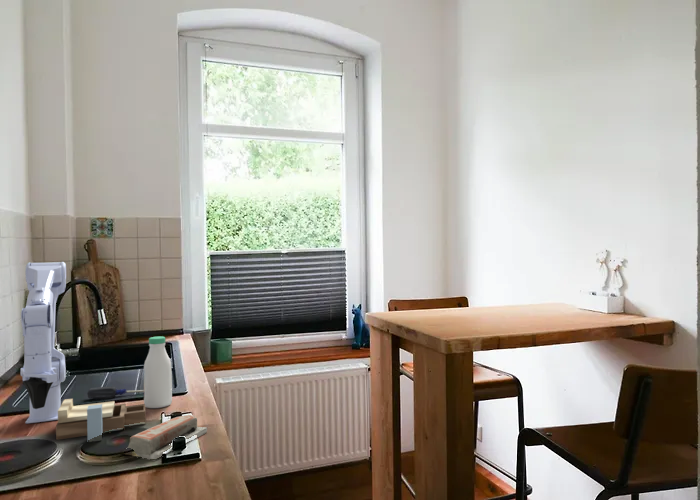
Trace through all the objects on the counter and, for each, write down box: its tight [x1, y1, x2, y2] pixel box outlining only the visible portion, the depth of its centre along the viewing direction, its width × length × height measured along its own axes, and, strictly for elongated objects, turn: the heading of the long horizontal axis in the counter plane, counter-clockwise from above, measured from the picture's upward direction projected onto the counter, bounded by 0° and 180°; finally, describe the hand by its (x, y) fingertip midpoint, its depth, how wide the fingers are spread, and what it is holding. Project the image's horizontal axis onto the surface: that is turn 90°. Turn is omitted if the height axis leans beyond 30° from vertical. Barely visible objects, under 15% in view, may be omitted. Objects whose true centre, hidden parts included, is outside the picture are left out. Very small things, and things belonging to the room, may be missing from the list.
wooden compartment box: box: [55, 403, 146, 441], centre depth 130 cm, size 12×20×3 cm, turn 112°
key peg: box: [87, 404, 104, 441], centre depth 120 cm, size 3×3×8 cm
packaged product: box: [127, 414, 208, 460], centre depth 118 cm, size 18×5×10 cm
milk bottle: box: [143, 335, 173, 409], centre depth 147 cm, size 8×8×20 cm
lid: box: [57, 398, 116, 423], centre depth 128 cm, size 10×12×3 cm
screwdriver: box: [87, 386, 144, 400], centre depth 158 cm, size 26×4×4 cm, turn 112°
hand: (38, 407), depth 124 cm, fingers closed
